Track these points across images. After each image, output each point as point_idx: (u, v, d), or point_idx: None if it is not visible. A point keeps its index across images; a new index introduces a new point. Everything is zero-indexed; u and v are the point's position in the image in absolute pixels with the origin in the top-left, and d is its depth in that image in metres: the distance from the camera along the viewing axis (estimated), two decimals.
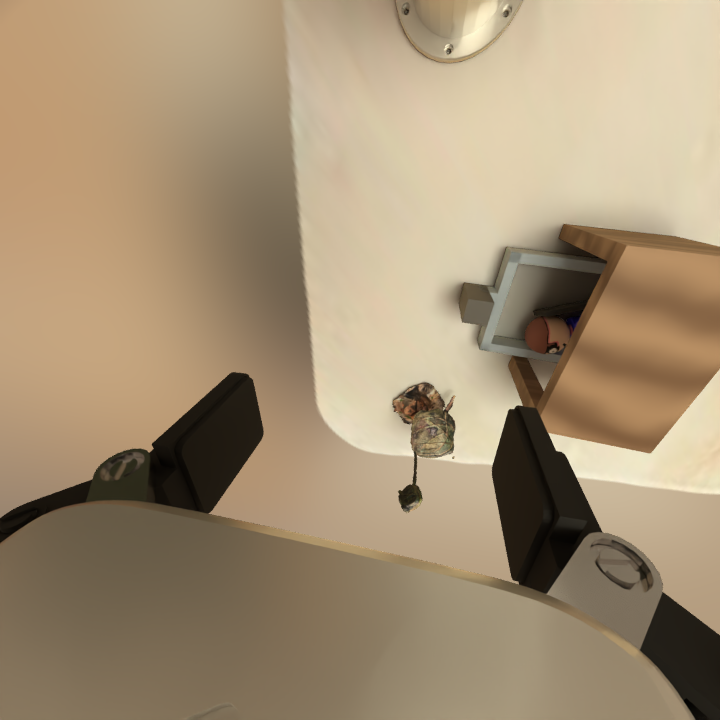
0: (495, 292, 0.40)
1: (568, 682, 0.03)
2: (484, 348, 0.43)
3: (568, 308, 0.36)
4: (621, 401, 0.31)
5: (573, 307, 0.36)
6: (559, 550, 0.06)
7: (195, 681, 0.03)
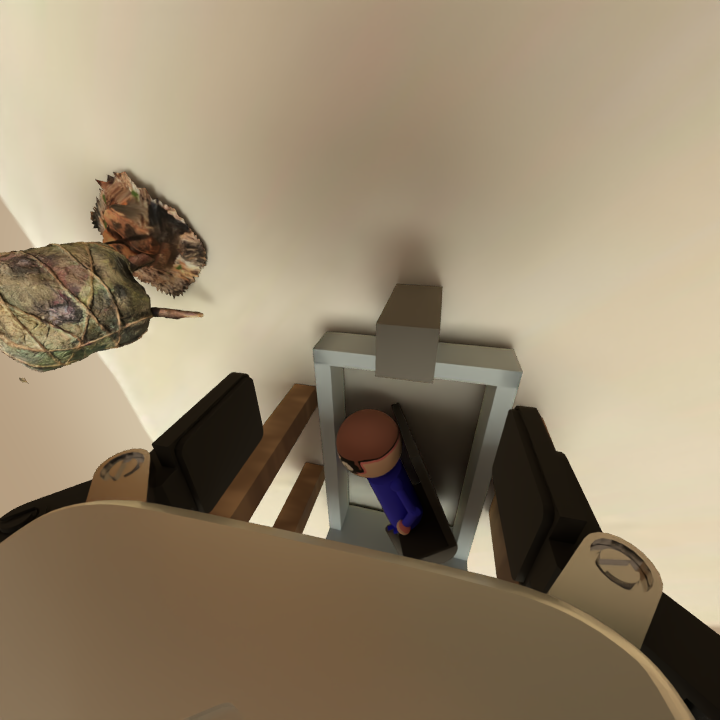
0: None
1: (568, 682, 0.03)
2: (317, 356, 0.22)
3: (427, 480, 0.21)
4: None
5: (429, 486, 0.21)
6: (559, 550, 0.06)
7: (196, 681, 0.03)
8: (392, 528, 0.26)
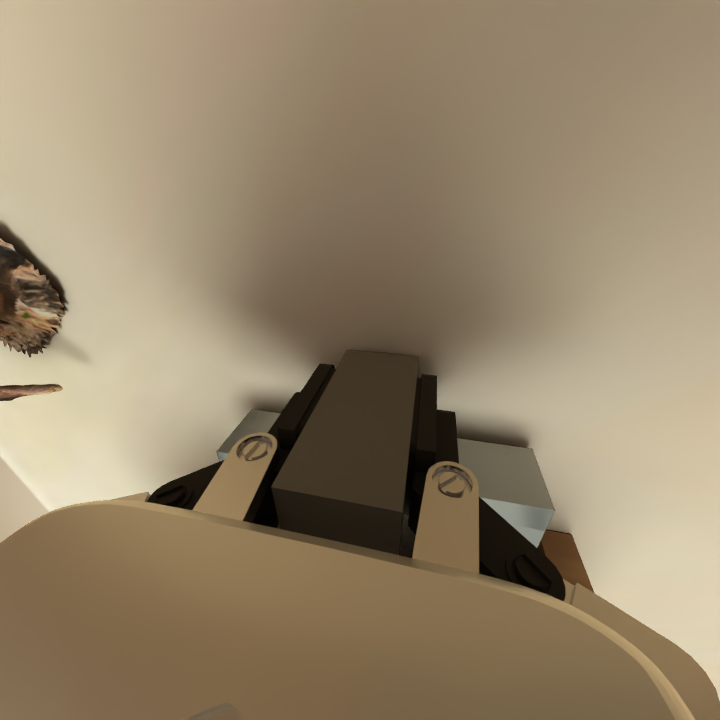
0: None
1: (568, 682, 0.03)
2: None
3: None
4: None
5: None
6: (419, 477, 0.08)
7: (195, 681, 0.03)
8: None
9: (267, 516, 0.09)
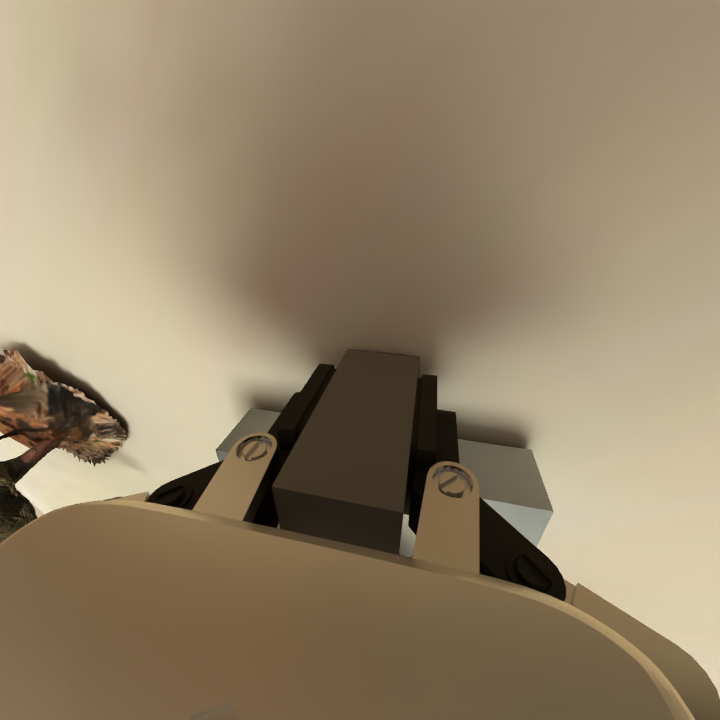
0: None
1: (569, 683, 0.03)
2: None
3: None
4: None
5: None
6: (420, 478, 0.08)
7: (195, 681, 0.03)
8: None
9: (267, 516, 0.09)
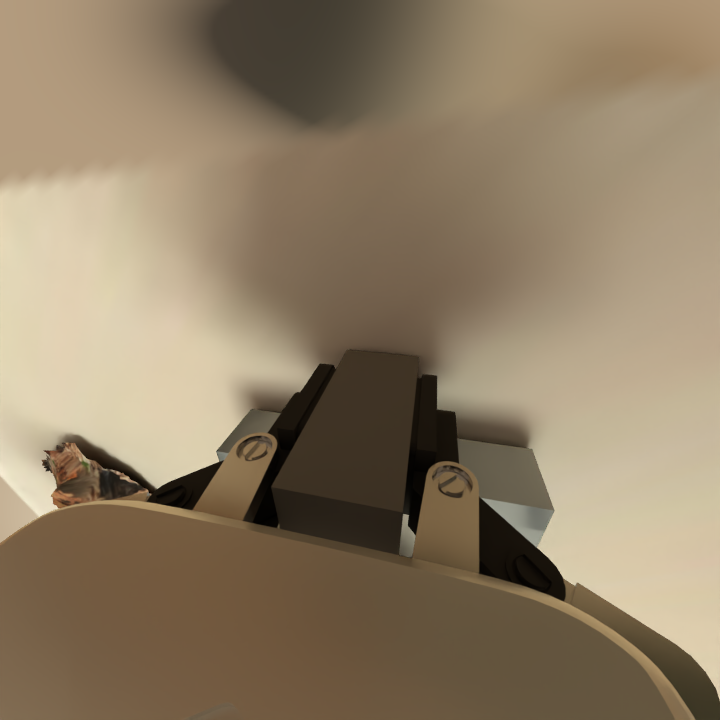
0: None
1: (568, 682, 0.03)
2: None
3: None
4: None
5: None
6: (419, 477, 0.08)
7: (195, 681, 0.03)
8: None
9: (267, 516, 0.09)
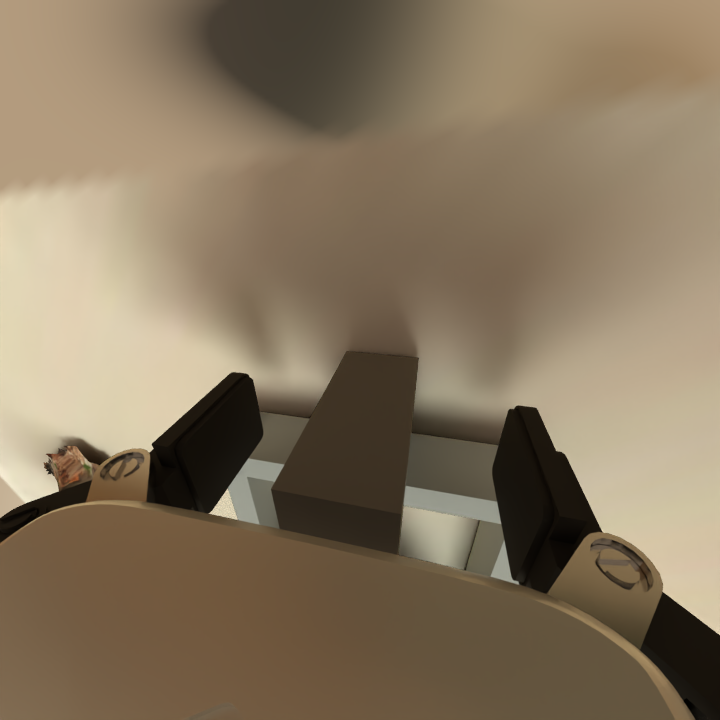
0: (406, 473, 0.12)
1: (568, 682, 0.03)
2: None
3: None
4: None
5: None
6: (559, 550, 0.06)
7: (195, 681, 0.03)
8: None
9: None
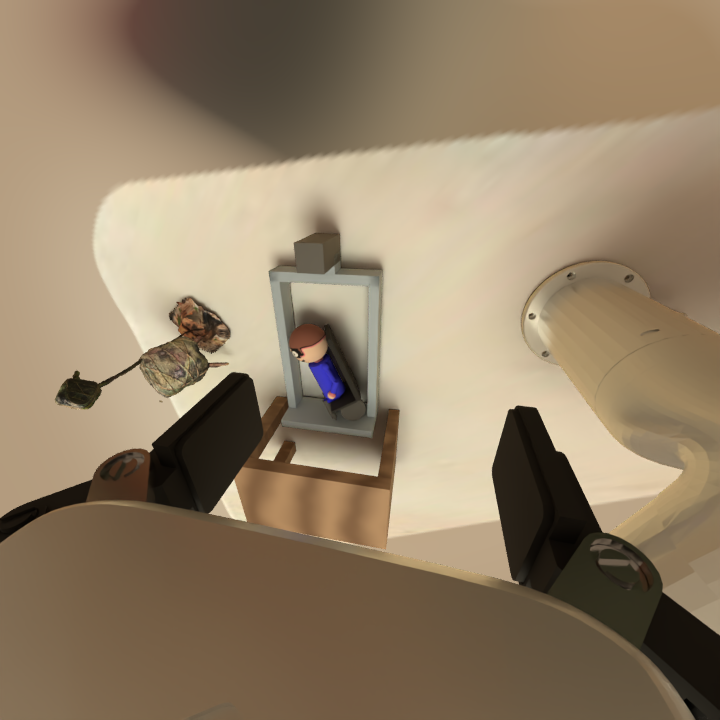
0: (335, 271, 0.36)
1: (568, 682, 0.03)
2: (271, 276, 0.37)
3: (337, 355, 0.38)
4: (279, 505, 0.41)
5: (339, 358, 0.38)
6: (559, 550, 0.06)
7: (195, 681, 0.03)
8: (326, 399, 0.43)
9: None
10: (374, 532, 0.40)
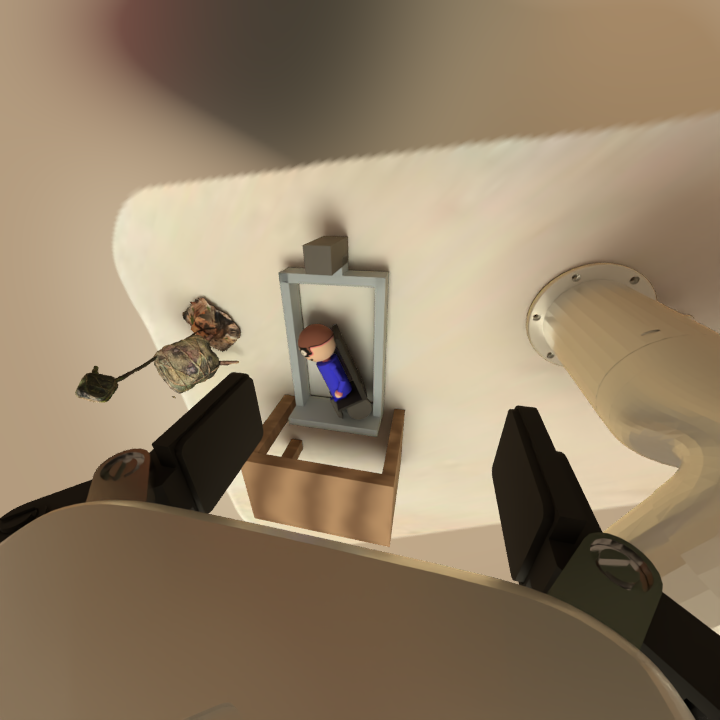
0: (342, 273, 0.37)
1: (568, 682, 0.03)
2: (281, 277, 0.39)
3: (345, 354, 0.38)
4: (286, 500, 0.42)
5: (346, 358, 0.39)
6: (559, 550, 0.06)
7: (195, 681, 0.03)
8: (333, 398, 0.44)
9: None
10: (378, 529, 0.40)
